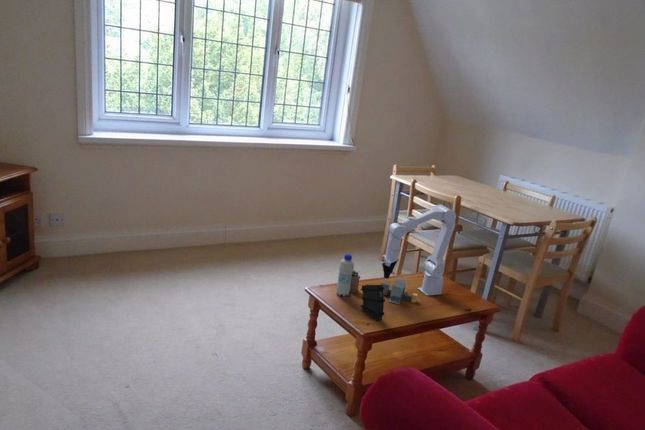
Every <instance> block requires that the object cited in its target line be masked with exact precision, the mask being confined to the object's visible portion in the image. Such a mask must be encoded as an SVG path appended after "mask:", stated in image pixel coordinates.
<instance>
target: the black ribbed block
mask: <svg viewBox="0 0 645 430" xmlns="http://www.w3.org/2000/svg"><path fill="white" fill-rule="evenodd" d="M383 289H384V287H383V285H381V284H365V285H361V288H360V291H362V296H361V300H362V304H361V305H360V307H361V310H362V311H363V313H366V315H368V316H369V317H371V318H372V319H373V320H374V321H376V322H379V321H382V320H383V316H385V312H384V308H385V307H384V306H385V302H386V299H385V297H384V296H385V295H384V293H383Z"/></svg>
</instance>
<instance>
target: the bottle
mask: <svg viewBox="0 0 645 430" xmlns="http://www.w3.org/2000/svg"><path fill="white" fill-rule="evenodd" d="M354 265H355V261H354V260H353V255H351V254H349V253H346V254H345V255H344V257H343V258H342V259H341V260H340V263H339V267H338V270H339V271H338V278H337V284H336V288H335V289H336V290H335V292H336V294H337V295H338V296H339V297H341V295H342V297H347V296H348V295H349V293H350V292H351V291H350V283H351V277H352V272H353V270H355V269H354V268H355V267H354Z"/></svg>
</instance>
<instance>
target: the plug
mask: <svg viewBox="0 0 645 430" xmlns="http://www.w3.org/2000/svg"><path fill="white" fill-rule="evenodd" d="M390 284H391V282H389V281H386V280H382V281H381V283H380V285H383V287H384V289H383V293H384V296H390V295H391V290H392V289H390V286H391V285H390ZM418 294H419V293H414V292H413V293H412V295H410V294H406V293H405V294H403V293H402V298H401V300H405V301H408V302H412V303H413V304H415V303H416V302H417V298H418Z"/></svg>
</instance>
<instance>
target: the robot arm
mask: <svg viewBox="0 0 645 430" xmlns="http://www.w3.org/2000/svg"><path fill="white" fill-rule="evenodd" d="M456 218H457V213H456V212H455V211H454V210H452V209H451V208H449V207H447V206H444V204H441V203H440V204H439V203H438V204H437V205H434V206H433V207H432V208H431V209H429V210H427V211H424V213H421V214H420V215H418V216H416V217H414V216H408V217H407V218H406V219H403V220H400V221H398V222H393V223H391V224H390V225H389V226H388V227H387V231H388V234H389V235H388V240H387V246H386V251H385V254H383V255H382V258H384V260H385V262H382V265H381V266H382V270H383V278H384V279H387V280H389V279H390V276H391V274H392V273H393V271H394V269H395V267H396V264H397V263H398V262H399V253H400V248H401V243H402V238H403V237H405V235H406V234H407V233H409V232H412V231H414V230H415V229H418V227H419V225H421V224H423V223H426V222H429V221H431V220H437V221H440V223H441V225H442V226H441V229H440V231H439V235H438V237H437V240H436V243H435V246H434V248H433V251H432V254H431V255H429V256H427V258H426V260H425V261H424V262H423V267H422V268H423V270H424V276H423V280H422V284H421V287H418V286H417V289H418V290H419V291H420V292H421V293H422V294H424V295H425V296H435V295H436V296H437V295H438V296H439V295H442V294H443V291H442V290H443V286H444V277H443V275H444V273H445V266H446V265H445V262H444V256H445V254H446V252H447V249H448V246H449V243H450V241H451V238H452V235H453V232H454V230H455V228H456V220H457V219H456Z"/></svg>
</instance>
